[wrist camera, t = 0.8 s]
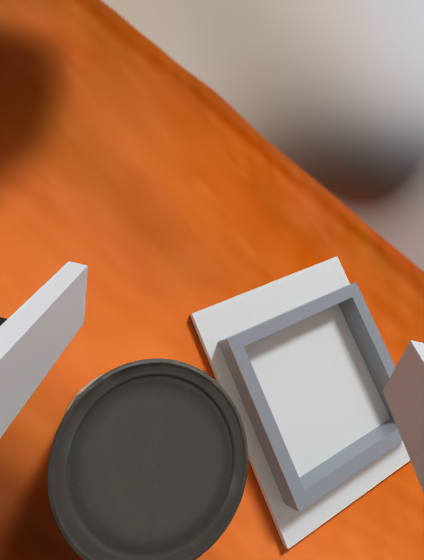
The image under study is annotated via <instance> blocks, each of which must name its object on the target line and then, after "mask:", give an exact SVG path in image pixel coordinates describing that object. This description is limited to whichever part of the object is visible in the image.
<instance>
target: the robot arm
mask: <svg viewBox="0 0 424 560" xmlns="http://www.w3.org/2000/svg"><path fill="white" fill-rule="evenodd" d="M87 268H88V266H87V265H83V264H79V263H74V262H70V261H69V262H68V263H66V264H65V265H64V266H63V267H62V268H61V269H60V270H59V271H58V272H57V273H56V274H55V275H54V276H53V277H52V278H51V279H50V280H48V281H47V282H46V283H45V284H44V285H43V286H42V287H41V288H40V289H39V290H38V291H37V292H36V293H35V294H34V295H33V296H32V297H31V298H29V299H28V300H27V301H26V302H25V303H24V304H23V305H22V306H21V307H20V308H19V309H18V310H17V311H16V312H15V313H14V314H13V315H11V316H10V317H9V318H8V319H5V318H1V317H0V438H1V437H2V435H3V434H4V433H5V431H6V430H7V428H8V427H9V426H10V424H11V423H12V421H13V420H14V419H15V417H16V416H17V415H18V413H19V412H20V410H21V409H22V408H23V406H24V405H25V403H26V402H27V401H28V399H29V398H30V397H31V395H32V394H33V392H34V391H35V390H36V388H37V387H38V386H39V384H40V383H41V381H42V380H43V379H44V377H45V376H46V374H47V373H48V372H49V370H50V369H51V368H52V366H53V365H54V363H55V362H56V361H57V359H58V358H59V356H60V355H61V354H62V352H63V351H64V350H65V348H66V347H67V345H68V344H69V343H70V341H71V340H72V339H73V337H74V336H75V334H76V333H77V332H78V330H79V329H80V327H81V326H82V325H83V323H84V317H85V301H86V285H87ZM383 393H384V396H385V398H386V401H387V403H388V406H389V408H390V411H391V413H392V416H393V418H394V421H395V423H396V426H397V428H398V430H399V433H400V435H401V438H402V440H403V443H404V445H405V448H406V450H407V453H408V455H409V458H410V460H411V463H412V465H413V467H414V470H415V472H416V475H417V477H418V480H419V482H420V485H421V487H422V490H423V492H424V343H421V342H416V341H412V340H410V342H409V344H408V345H407V347H406V349H405V351H404V353H403V355H402V357H401V358H400V360H399V362H398V364H397V366H396V368H395V369H394V371H393V373H392V375H391V377H390V379H389V380H388V382H387V384H386V386H385V388H384V390H383Z"/></svg>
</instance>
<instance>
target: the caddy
mask: <svg viewBox="0 0 424 560" xmlns="http://www.w3.org/2000/svg"><path fill="white" fill-rule="evenodd" d="M190 317H191V320H192V322H193V324H194V327H195V329H196V332H197V334H198V337H199V339H200V342H201V344H202V347H203V349H204V351H205V354H206V356H207V359H208V361H209V364H210V366H211V369H212V371H213V374H214V376H215V378H216V381H217V382H218V383H219V384H220V385H221V386H222V387H223V389H224V390H225V391H226V392H227V393H228V395H229V396H230V397H231V399H232V401H233V402H234V404H235V406H236V408H237V410H238V412H239V414H240V416H241V419H242V422H243V425H244V428H245V432H246V437H247V443H248V459H249V462H250V464H251V467H252V469H253V472H254V474H255V477H256V479H257V482H258V484H259V486H260V489H261V491H262V494H263V496H264V499H265V501H266V504H267V506H268V508H269V511H270V513H271V516H272V518H273V521H274V523H275V526H276V528H277V531H278V533H279V535H280V538H281V540H282V543H283V545H284V546H285V547H286V548H287V549H289V548H291V547H292V546H293V545H295V544H296V543H298V542H299V541H300V540H302V539H303V538H304V537H306V536H307V535H308V534H310V533H311V532H313V531H314V530H315V529H317V528H318V527H319V526H321V525H322V524H324V523H325V522H326V521H328V520H329V519H330V518H332V517H333V516H335V515H336V514H337V513H339V512H340V511H341V510H343V509H344V508H345V507H347V506H348V505H350V504H351V503H352V502H354V501H355V500H356V499H358V498H359V497H361V496H362V495H363V494H365V493H366V492H367V491H369V490H370V489H372V488H373V487H374V486H376V485H377V484H378V483H380V482H381V481H383V480H384V479H385V478H387V477H388V476H389V475H391V474H392V473H393V472H395V471H396V470H398V469H399V468H400V467H402V466H403V465H404V464H406V463H407V462H409V461H410V458H409V455H408V453H407V450H406V448H405V445H404V443H403V440H402V438H401V435H400V433H399V430H398V428H397V426H396V423H395V421H394V418H393V416H392V413H391V411H390V408H389V406H388V403H387V401H386V398H385V396H384V393H383V390H384V388H385V386H386V384H387V382H388V380H389V379H390V377H391V375H392V373H393V371H394V369H395V366H394V363H393V361H392V359H391V357H390V355H389V353H388V350H387V348H386V346H385V344H384V342H383V340H382V337H381V335H380V333H379V331H378V329H377V327H376V324H375V322H374V320H373V318H372V316H371V314H370V311H369V309H368V307H367V305H366V303H365V301H364V298H363V296H362V294H361V292H360V290H359V288H358V285H357V283H356V282H355V283H353V284H350V283H349V281H348V279H347V277H346V274H345V272H344V270H343V268H342V266H341V264H340V261H339V259H338V257H334V258H332V259H329V260H326V261H324V262H321V263H319V264H316V265H314V266H311V267H309V268H306V269H304V270H301V271H299V272H296V273H294V274H291V275H289V276H286V277H283V278H281V279H278V280H276V281H273V282H271V283H268V284H266V285H263V286H261V287H258V288H256V289H253V290H251V291H248V292H246V293H243V294H241V295H238V296H235V297H233V298H230V299H228V300H225V301H223V302H220V303H218V304H215V305H213V306H210V307H208V308H205V309H203V310H200V311H198V312H195V313H192V314H191V315H190Z"/></svg>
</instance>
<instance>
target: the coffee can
mask: <svg viewBox="0 0 424 560" xmlns="http://www.w3.org/2000/svg"><path fill="white" fill-rule="evenodd" d="M247 472H248V443H247V437H246V432H245V428H244V425H243V422H242V419H241V416H240V414H239V412H238V410H237V408H236V406H235V404H234V402H233V401H232V399H231V397H230V396H229V395H228V393H227V392H226V391H225V390H224V389H223V387H222V386H221V385H220V384H219V383H218V382H217V381H216V380H214V379H213V378H212V377H210V376H209V375H208V374H206V373H205V372H203V371H202V370H200V369H198V368H196V367H194V366H192V365H189V364H186V363H184V362H180V361H175V360H170V359H145V360H139V361H135V362H130V363H127V364H124V365H122V366H119V367H117V368H115V369H113V370H111V371H109V372H107V373H105V374H102V375H100V376H98V377H97V378H95V379H94V380H92V381H90V382H89V383H88V384H86V385H85V386H84V387H83V388H82V389H81V390H80V391H79V392H78V393H77V394H76V396H75V397H74V398H73V400H72V401H71V403H70V405H69V406H68V408H67V410H66V413H65V416H64V418H63V420H62V422H61V424H60V426H59V428H58V430H57V432H56V435H55V438H54V441H53V444H52V448H51V452H50V457H49V463H48V472H47V486H48V497H49V502H50V507H51V511H52V514H53V516H54V519H55V521H56V524H57V526H58V528H59V530H60V532H61V534H62V535H63V537H64V538H65V540H66V541H67V543H68V544H69V545H70V547H71V548H72V549H73V550H74V551H75V552H76V554H77V555H79V556H80V557H81V558H82V559H83V560H195V559H197V558H198V557H200V556H201V555H202V554H203V553H204V552H206V551H207V550H208V549H209V548H210V547H211V546H212V545H213V544H214V543H215V542H216V541H217V540H218V539H219V537H220V536H221V535H222V534H223V532H224V531H225V530H226V528H227V527H228V525H229V524H230V522H231V520H232V519H233V517H234V515H235V512H236V510H237V508H238V506H239V504H240V501H241V498H242V496H243V492H244V488H245V484H246V479H247Z"/></svg>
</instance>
